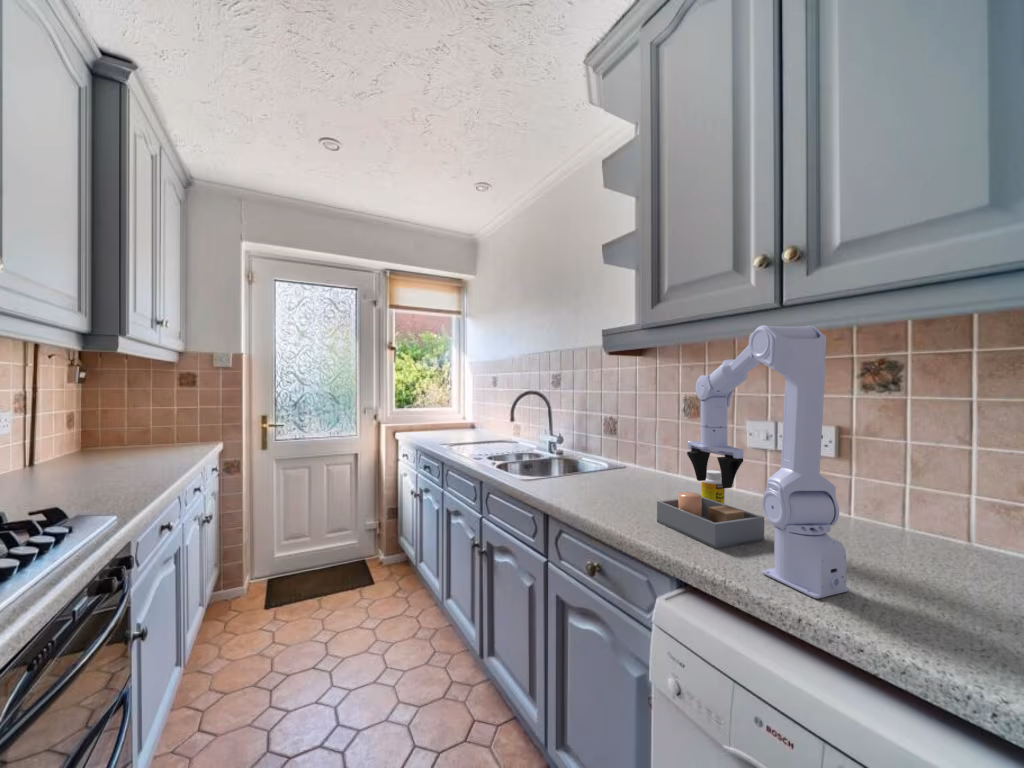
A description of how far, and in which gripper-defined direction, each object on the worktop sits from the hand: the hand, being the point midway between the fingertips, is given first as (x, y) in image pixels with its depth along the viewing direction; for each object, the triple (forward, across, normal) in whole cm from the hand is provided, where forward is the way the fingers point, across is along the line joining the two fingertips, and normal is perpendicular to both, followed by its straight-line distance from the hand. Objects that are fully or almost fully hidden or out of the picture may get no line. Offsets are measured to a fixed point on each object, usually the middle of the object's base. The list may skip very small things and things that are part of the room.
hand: (713, 484), depth 97 cm
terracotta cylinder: (+9, -1, -6) cm, 11 cm away
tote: (+10, +2, -4) cm, 11 cm away
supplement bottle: (+10, -10, +10) cm, 17 cm away
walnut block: (+9, +5, -2) cm, 11 cm away
